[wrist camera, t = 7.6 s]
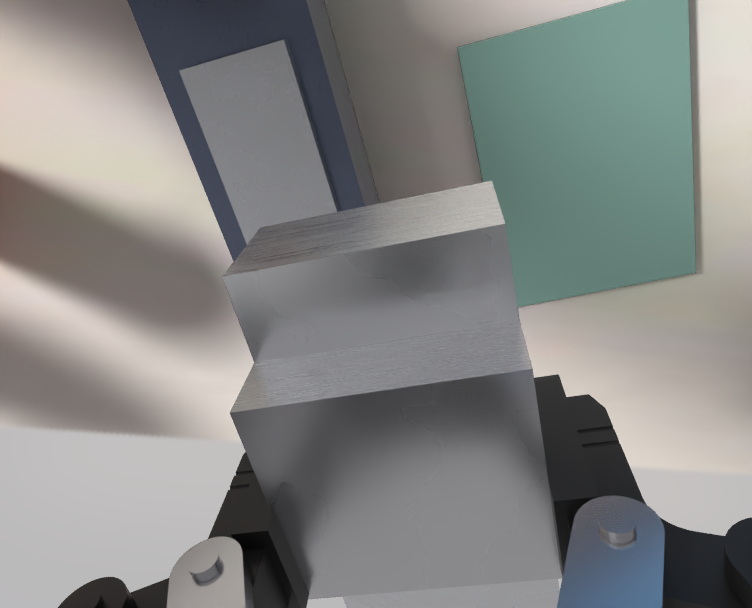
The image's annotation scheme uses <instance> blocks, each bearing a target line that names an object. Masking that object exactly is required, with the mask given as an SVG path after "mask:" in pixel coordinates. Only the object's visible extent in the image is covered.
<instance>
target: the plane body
mask: <svg viewBox="0 0 752 608" xmlns="http://www.w3.org/2000/svg"><path fill="white" fill-rule="evenodd" d="M128 3H129V5H130V7H131V10H132V12H133V15H134V17H135V20H136V22H137V25H138V27H139V30H140V32H141V35H142V37H143V39H144V42H145V44H146V47H147V49H148V52H149V54H150V57H151V59H152V62H153V64H154V67H155V69H156V71H157V74H158V76H159V79H160V81H161V84H162V86H163V89H164V91H165V94H166V96H167V99H168V101H169V103H170V106H171V108H172V111H173V113H174V116H175V118H176V121H177V123H178V126H179V128H180V131H181V133H182V135H183V138H184V140H185V143H186V145H187V148H188V150H189V153H190V155H191V158H192V160H193V163H194V165H195V167H196V170H197V172H198V175H199V177H200V180H201V182H202V185H203V187H204V190H205V192H206V195H207V197H208V199H209V202H210V204H211V207H212V209H213V212H214V214H215V217H216V219H217V222H218V224H219V227H220V229H221V231H222V234H223V236H224V239H225V241H226V244H227V246H228V249H229V251H230V254H231V256H232V259H233V261H235V260H236V258H237V257H238V256H239V255H240V253H241V252H242V251H243V249H244V248H245V247H246V245H247V244H248V243H249V241H250V240H251V239H252V237H253V236H254V235H255V234H256V232H257V231H258V230H259V228H261V227H266V226H270V225H275V224H280V223H285V222H290V221H295V220H300V219H305V218H310V217H315V216H320V215H325V214H330V213H335V212H339V211H344V210H349V209H354V208H359V207H364V206H369V205H374V204H379V199H378V196H377V192H376V188H375V185H374V181H373V177H372V174H371V170H370V166H369V163H368V159H367V155H366V152H365V148H364V145H363V141H362V137H361V134H360V130H359V126H358V123H357V119H356V115H355V112H354V108H353V104H352V101H351V97H350V93H349V90H348V86H347V82H346V79H345V75H344V71H343V68H342V64H341V60H340V57H339V53H338V50H337V46H336V42H335V39H334V35H333V31H332V28H331V24H330V20H329V17H328V13H327V9H326V6H325V2H324V0H128Z"/></svg>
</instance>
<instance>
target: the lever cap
mask: <svg viewBox="0 0 752 608" xmlns="http://www.w3.org/2000/svg"><path fill="white" fill-rule="evenodd" d="M222 278H223V280H224V283H225V286H226V288H227V291H228V294H229V296H230V299H231V302H232V304H233V307H234V310H235V312H236V315H237V317H238V320H239V323H240V325H241V328H242V331H243V333H244V336H245V339H246V341H247V344H248V347H249V349H250V352H251V355H252V357H253V360H254V365H253V367H252V369H251V371H250V373H249V375H248V377H247V379H246V381H245V383H244V385H243V387H242V389H241V391H240V393H239V395H238V397H237V399H236V401H235V403H234V405H233V407H232V409H231V411H230V415H231V417H232V419H233V422H234V424H235V427H236V429H237V431H238V434H239V436H240V439H241V441H242V444H243V446H244V448H245V451H246V453H247V456H248V458H249V460H250V463H251V465H252V468H253V470H254V472H255V475H256V477H257V480H258V482H259V484H260V487H261V489H262V492H263V494H264V496H265V499H266V501H267V504H268V506H269V509H270V510H273V509H275V511H276V514H277V516H278V519H279V521H280V524H281V526H282V529H283V531H284V533H285V536H286V538H287V541H288V543H289V546H290V548H291V550H292V553H293V555H294V558H295V560H296V563H297V565H298V567H299V570H300V572H301V575H302V577H303V580H304V582H305V585H306V587H307V589H308V592H309V597H308V599H318V598H329V597H341V596H343V599H344V601H345V604H346V607H347V608H557V604H558V598H559V593H560V590H559V583H558V579H559V578H562V573H561V567H560V560H559V553H558V546H557V539H556V532H555V525H554V518H553V511H552V504H551V497H550V490H549V483H548V474H547V467H546V460H545V453H544V446H543V439H542V432H541V425H540V418H539V411H538V404H537V397H536V390H535V383H534V376H533V369H532V365H531V361H530V358H529V354H528V350H527V346H526V342H525V339H524V335H523V331H522V327H521V324H520V319H519V313H518V306H517V299H516V292H515V286H514V279H513V272H512V265H511V258H510V252H509V245H508V238H507V231H506V225H505V221H504V218H503V215H502V211H501V208H500V205H499V202H498V199H497V195H496V192H495V189H494V186H493V183H492V181H487V182H482V183H478V184H473V185H468V186H463V187H458V188H453V189H448V190H443V191H438V192H433V193H428V194H423V195H418V196H413V197H409V198H404V199H399V200H394V201H389V202H384V203H379V204H374V205H369V206H364V207H359V208H354V209H349V210H344V211H339V212H335V213H330V214H325V215H320V216H315V217H310V218H305V219H300V220H295V221H290V222H285V223H280V224H275V225H270V226H266V227H261V228H259V230H258V231H257V232H256V234H255V235H254V236H253V237H252V239H251V240H250V241H249V243H248V244H247V245H246V247H245V248H244V249H243V251H242V252H241V253H240V255H239V256H238V257H237V258H236V260H235V261H234V262H233V264H232V265H231V266H230V268H229V269H228V270H227V272H226V273H225V274H224V276H223V277H222Z"/></svg>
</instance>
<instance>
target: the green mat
mask: <svg viewBox="0 0 752 608" xmlns="http://www.w3.org/2000/svg"><path fill="white" fill-rule="evenodd" d="M457 49H458V54H459V59H460V64H461V70H462V75H463V80H464V85H465V91H466V96H467V101H468V107H469V112H470V117H471V122H472V128H473V133H474V138H475V143H476V149H477V154H478V159H479V164H480V170H481V175H482V180H483V182H487V181H492V183H493V186H494V189H495V192H496V195H497V199H498V202H499V205H500V208H501V211H502V215H503V218H504V221H505V225H506V231H507V238H508V245H509V252H510V258H511V265H512V272H513V279H514V286H515V292H516V299H517V306H518V307H521V306H526V305H532V304H537V303H542V302H547V301H552V300H557V299H563V298H568V297H573V296H578V295H583V294H588V293H594V292H599V291H604V290H609V289H614V288H619V287H625V286H630V285H635V284H640V283H645V282H650V281H656V280H661V279H666V278H671V277H676V276H681V275H687V274H692V273H696V259H695V223H694V187H693V151H692V115H691V79H690V43H689V7H688V0H626V1H622V2H619V3H615V4H612V5H608V6H604V7H601V8H597V9H594V10H590V11H586V12H583V13H579V14H576V15H572V16H568V17H565V18H561V19H558V20H554V21H550V22H547V23H543V24H539V25H536V26H532V27H529V28H525V29H521V30H518V31H514V32H511V33H507V34H503V35H500V36H496V37H493V38H489V39H485V40H482V41H478V42H475V43H471V44H467V45H464V46H460V47H457Z"/></svg>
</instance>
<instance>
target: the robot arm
mask: <svg viewBox="0 0 752 608" xmlns="http://www.w3.org/2000/svg"><path fill="white" fill-rule="evenodd" d="M534 383H535V390H536V397H537V404H538V411H539V418H540V425H541V432H542V439H543V446H544V453H545V460H546V467H547V474H548V483H549V490H550V497H551V504H552V511H553V518H554V525H555V532H556V539H557V546H558V553H559V560H560V567H561V573H562V583H561V588H560V593H559V598H558V604H557V608H752V518H747V519H744V520H741V521H739V522H737V523H736V524H734V525H733V526H732V527H731V528H730V529H729V530H728V532H727V534H726V536H719V535H713V534H707V533H700V532H695V531H689V530H686V529H683V528H679V527H677V526H675V525H672V524H670V523H668V522H666V521H665V520H663V519H661V518H660V517H659V516H658V515H657V514H656V513H655V511H653V510H652V509H651V508H650V507H649V506H647V505H646V503H645V502H644V500H643V498H642V496H641V493H640V490H639V488H638V486H637V483H636V481H635V478H634V476H633V474H632V471H631V469H630V466H629V464H628V462H627V459H626V457H625V454H624V452H623V450H622V447H621V445H620V444H619V440H618V437H617V435H616V433H615V430H614V429H613V425H612V423H611V421H610V418H609V416H608V413H607V411H606V409H605V408H604V407H603V406H602V405H601V404H600V403H598V402H597V401H596V400H595V399H594V398H592V397H591V396H590V395H589V394H588V395H581V396H573V397H566V395H565V392H564V389H563V386H562V383H561V380H560V377H559V375H551V376H544V377H537V378H534ZM308 597H309V592H308V589H307V587H306V585H305V582H304V580H303V577H302V575H301V572H300V570H299V567H298V565H297V563H296V560H295V558H294V555H293V553H292V550H291V548H290V546H289V543H288V541H287V538H286V536H285V533H284V531H283V529H282V526H281V524H280V521H279V519H278V516H277V514H276V511H275V509H273V510H270V509H269V506H268V504H267V501H266V499H265V496H264V494H263V492H262V489H261V487H260V484H259V482H258V480H257V477H256V475H255V472H254V470H253V468H252V465H251V463H250V460H249V458H248V456H247V453H246V452H245V453H244V455H243V456H242V459H241V461H240V464H239V466H238V468H237V471H236V476H234V478H233V480H232V483H231V485H230V490H228V492H227V495H226V497H225V499H224V502H223V504H222V507H221V509H220V512H219V514H218V516H217V519H216V521H215V523H214V526H213V528H212V531H211V533H210V535H209V538H208V539H207V540H204V541H202V542H200V543H198V544H196V545H194V546H193V547H192V548H190V549H189V550H188V551H186V552H185V553H184V554H183V555H182V556H181V557H180V558H179V560H178V561H177V562H176V564H175V565H174V567H173V569H172V572H171V574H170V578H168V579H165V580H163V581H160V582H158V583H155V584H152V585H150V586H147V587H144V588H142V589H139V590H136V591H134V592H131V593H130V592H129V590H128V589H127V587H126V585H125V584H124V583H123V581H121V580H120V579H118V578H115V577H104V578H99V579H96V580H93V581H91V582H89V583H87V584H85V585H83V586H82V587H80V588H79V589H77V590H76V591H74V592H73V593H72V594H71V595H69V596H68V597H67V598H66V599H65V600H64V601H63V603H61V605H60V606H59V607H58V608H306V606H307V601H308Z"/></svg>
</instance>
